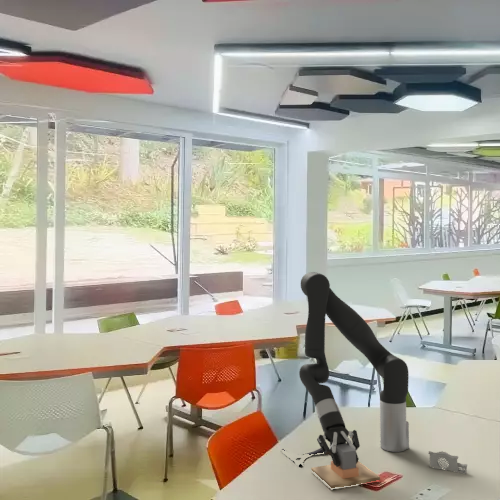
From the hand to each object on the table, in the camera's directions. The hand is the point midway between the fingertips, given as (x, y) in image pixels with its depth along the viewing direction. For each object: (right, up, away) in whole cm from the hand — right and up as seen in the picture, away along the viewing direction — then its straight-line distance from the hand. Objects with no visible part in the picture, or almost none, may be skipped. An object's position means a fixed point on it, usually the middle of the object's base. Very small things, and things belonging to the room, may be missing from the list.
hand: (347, 464), depth 175 cm
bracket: (-10, -6, +20) cm, 23 cm away
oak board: (0, -5, +2) cm, 5 cm away
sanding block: (-1, -3, +2) cm, 4 cm away
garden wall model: (+34, -5, +6) cm, 35 cm away
